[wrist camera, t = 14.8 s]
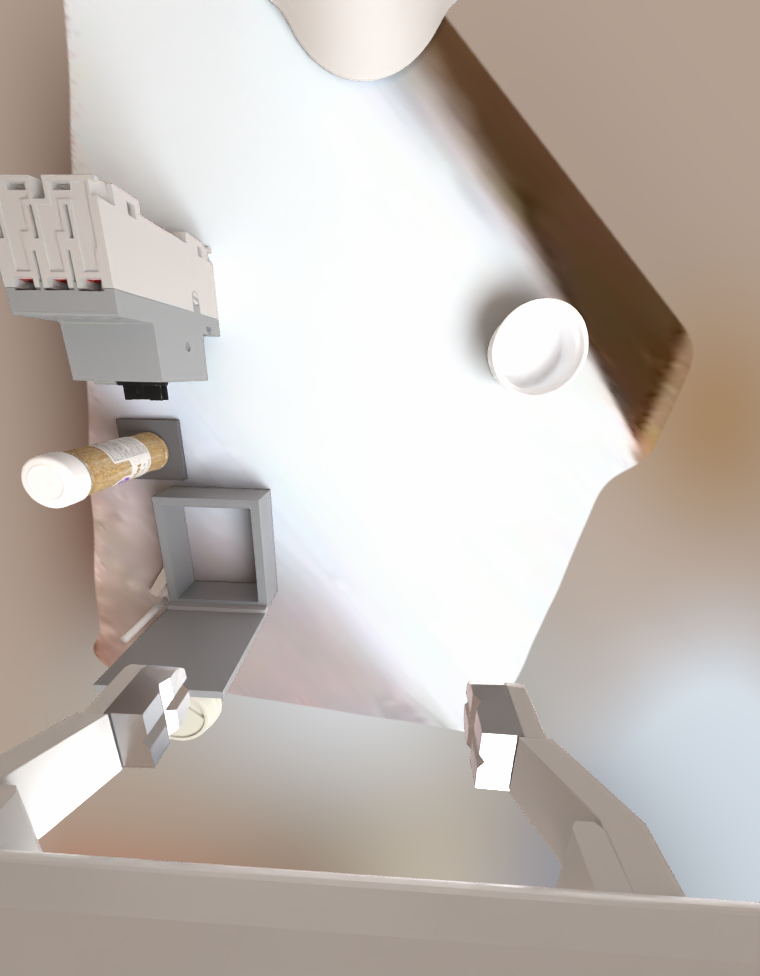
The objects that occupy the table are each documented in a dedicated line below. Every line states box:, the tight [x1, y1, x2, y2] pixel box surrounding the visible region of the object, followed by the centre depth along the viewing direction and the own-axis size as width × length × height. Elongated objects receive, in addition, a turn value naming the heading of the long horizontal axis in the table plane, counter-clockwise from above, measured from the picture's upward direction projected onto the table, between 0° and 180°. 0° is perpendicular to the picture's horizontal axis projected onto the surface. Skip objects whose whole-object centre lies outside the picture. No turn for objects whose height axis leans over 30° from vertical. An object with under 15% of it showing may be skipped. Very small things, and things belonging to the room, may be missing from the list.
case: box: [93, 486, 278, 699], centre depth 39 cm, size 15×13×16 cm
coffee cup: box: [169, 697, 223, 740], centre depth 45 cm, size 8×8×12 cm
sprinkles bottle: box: [21, 432, 169, 508], centre depth 36 cm, size 5×5×13 cm
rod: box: [149, 567, 167, 597], centre depth 48 cm, size 7×1×1 cm, turn 145°
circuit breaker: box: [0, 175, 220, 400], centre depth 32 cm, size 8×14×15 cm, turn 179°
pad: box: [116, 419, 188, 480], centre depth 43 cm, size 7×7×1 cm
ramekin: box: [487, 298, 588, 399], centre depth 36 cm, size 9×9×4 cm
